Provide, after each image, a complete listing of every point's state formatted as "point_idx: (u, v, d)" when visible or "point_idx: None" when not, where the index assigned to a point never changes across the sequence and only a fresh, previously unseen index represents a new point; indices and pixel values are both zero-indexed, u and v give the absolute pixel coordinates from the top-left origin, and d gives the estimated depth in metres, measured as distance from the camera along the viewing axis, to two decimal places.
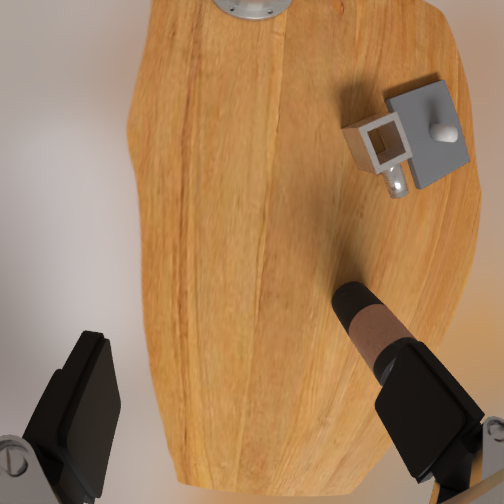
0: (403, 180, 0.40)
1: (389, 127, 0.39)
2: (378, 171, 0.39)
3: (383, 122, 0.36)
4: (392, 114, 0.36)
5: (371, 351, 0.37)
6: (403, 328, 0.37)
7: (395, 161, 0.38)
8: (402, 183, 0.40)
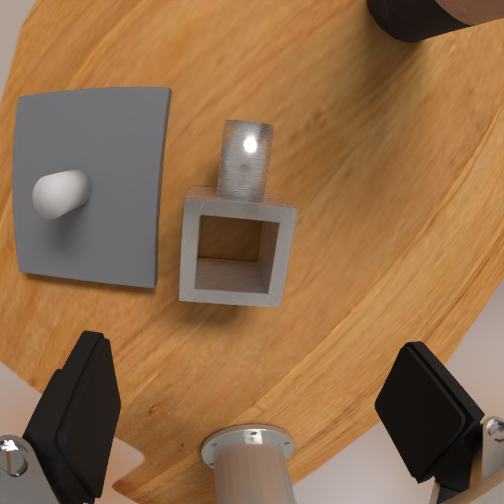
0: (236, 155, 0.18)
1: None
2: (290, 212, 0.19)
3: (222, 294, 0.20)
4: (191, 299, 0.20)
5: None
6: None
7: (238, 209, 0.19)
8: (245, 152, 0.18)
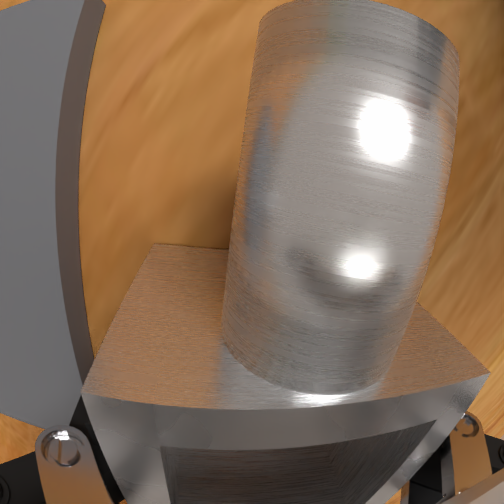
0: (341, 181, 0.03)
1: (176, 455, 0.07)
2: (472, 387, 0.04)
3: None
4: None
5: None
6: None
7: (322, 426, 0.04)
8: (394, 166, 0.03)
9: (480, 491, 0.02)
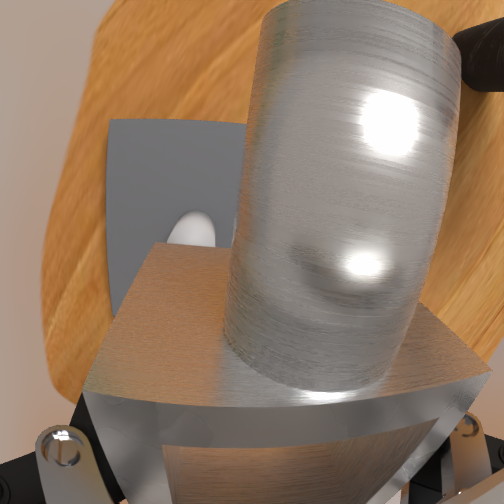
0: (345, 177, 0.03)
1: (177, 455, 0.07)
2: (474, 385, 0.04)
3: None
4: None
5: None
6: None
7: (325, 424, 0.04)
8: (397, 162, 0.03)
9: (480, 491, 0.02)
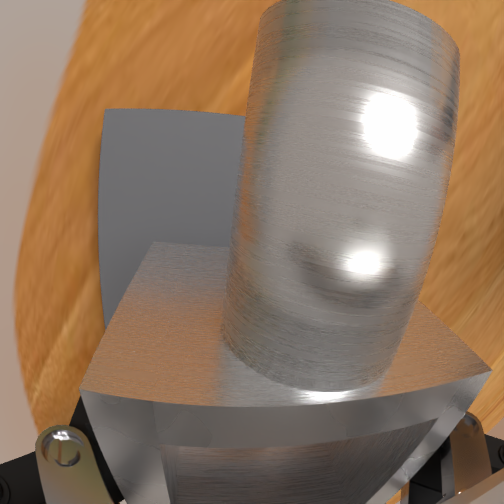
0: (343, 175, 0.03)
1: (176, 454, 0.07)
2: (474, 385, 0.04)
3: None
4: None
5: None
6: None
7: (323, 424, 0.04)
8: (395, 160, 0.03)
9: (480, 491, 0.02)
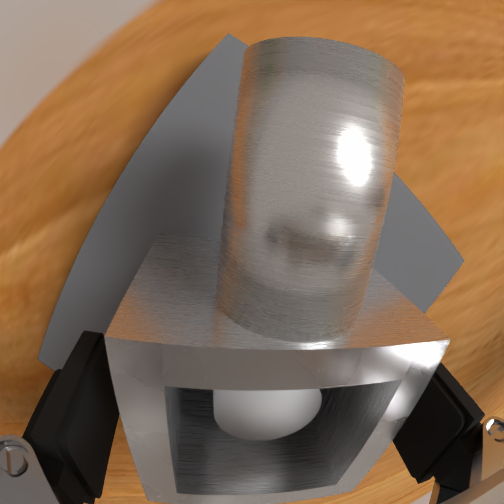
0: (297, 174, 0.04)
1: (177, 421, 0.08)
2: (433, 351, 0.06)
3: (238, 498, 0.07)
4: (174, 501, 0.07)
5: None
6: None
7: (294, 370, 0.05)
8: (336, 162, 0.04)
9: (480, 491, 0.02)
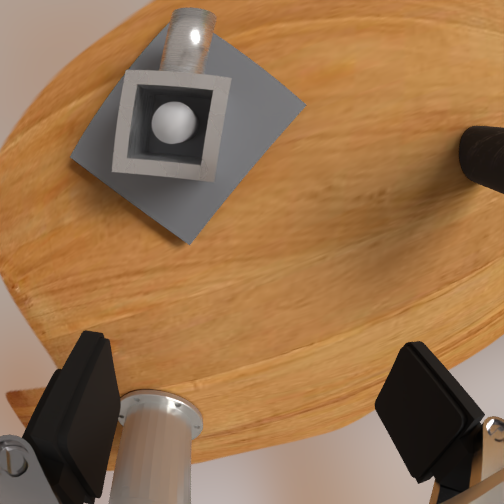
0: (176, 34, 0.16)
1: (137, 139, 0.20)
2: (224, 81, 0.17)
3: (153, 164, 0.19)
4: (123, 170, 0.18)
5: None
6: None
7: (173, 78, 0.17)
8: (184, 31, 0.15)
9: (480, 491, 0.02)
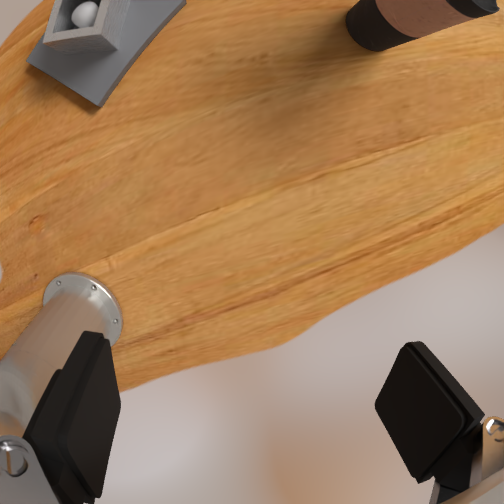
0: None
1: (63, 29, 0.21)
2: None
3: (66, 32, 0.19)
4: (49, 40, 0.19)
5: (457, 20, 0.15)
6: None
7: None
8: None
9: (480, 491, 0.02)
